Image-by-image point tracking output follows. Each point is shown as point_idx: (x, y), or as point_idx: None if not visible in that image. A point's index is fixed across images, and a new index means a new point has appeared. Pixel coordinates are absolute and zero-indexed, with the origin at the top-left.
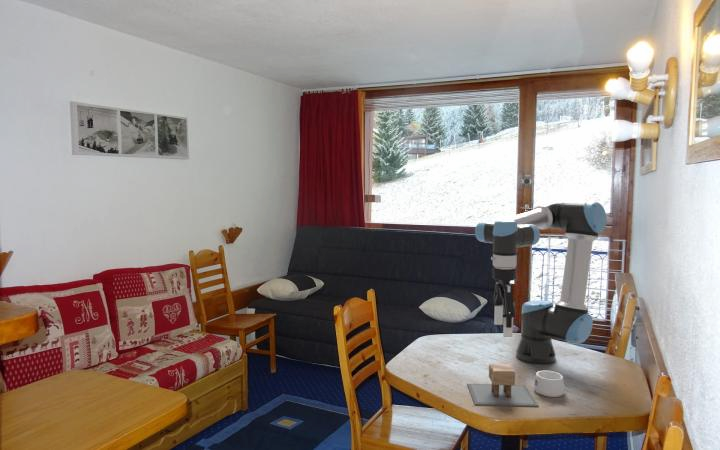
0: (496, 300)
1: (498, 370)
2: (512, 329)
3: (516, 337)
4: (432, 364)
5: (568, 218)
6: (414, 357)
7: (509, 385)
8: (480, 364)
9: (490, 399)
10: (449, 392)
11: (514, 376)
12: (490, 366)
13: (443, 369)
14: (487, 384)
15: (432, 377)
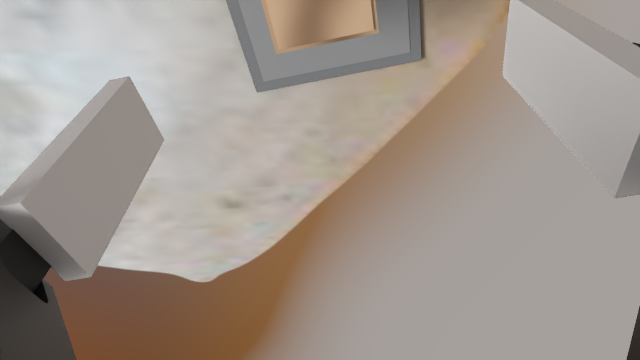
0: (70, 349)
1: (365, 7)
2: (581, 15)
3: None
4: (133, 198)
5: None
6: None
7: None
8: (20, 51)
9: (378, 6)
10: (336, 137)
11: None
12: (307, 47)
13: (157, 167)
14: (236, 19)
15: (238, 188)
